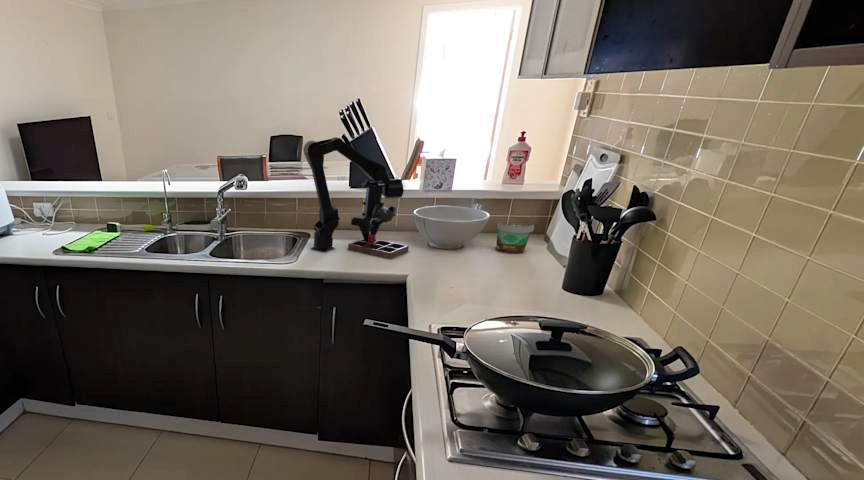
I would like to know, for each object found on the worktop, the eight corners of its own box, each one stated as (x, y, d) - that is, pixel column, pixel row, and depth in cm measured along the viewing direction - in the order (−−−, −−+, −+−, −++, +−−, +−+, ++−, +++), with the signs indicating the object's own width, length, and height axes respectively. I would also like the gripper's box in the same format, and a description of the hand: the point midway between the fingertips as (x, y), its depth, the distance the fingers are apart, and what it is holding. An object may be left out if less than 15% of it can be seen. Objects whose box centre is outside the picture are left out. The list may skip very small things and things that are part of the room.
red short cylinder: (362, 242, 195) (362, 235, 194) (368, 240, 198) (368, 233, 196) (370, 244, 193) (371, 237, 191) (376, 242, 195) (377, 235, 194)
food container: (492, 253, 183) (498, 225, 179) (491, 248, 188) (497, 221, 184) (529, 255, 179) (536, 227, 174) (528, 251, 184) (535, 223, 179)
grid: (347, 249, 193) (348, 243, 191) (366, 242, 200) (367, 237, 199) (389, 259, 181) (390, 253, 179) (408, 251, 188) (408, 245, 187)
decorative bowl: (398, 247, 194) (401, 215, 188) (425, 232, 211) (430, 203, 205) (468, 259, 178) (475, 225, 172) (492, 242, 196) (499, 210, 190)
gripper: (377, 205, 176) (373, 249, 184) (406, 197, 187) (400, 239, 195) (351, 201, 184) (348, 243, 191) (380, 194, 195) (376, 234, 202)
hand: (369, 240), depth 195 cm, fingers closed on red short cylinder, 4 cm apart
